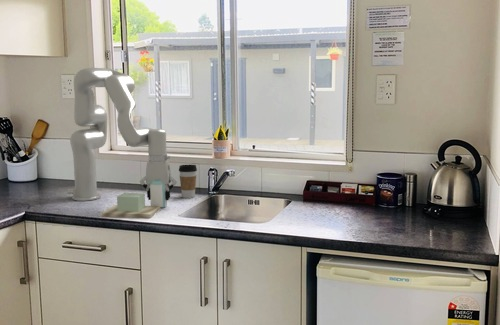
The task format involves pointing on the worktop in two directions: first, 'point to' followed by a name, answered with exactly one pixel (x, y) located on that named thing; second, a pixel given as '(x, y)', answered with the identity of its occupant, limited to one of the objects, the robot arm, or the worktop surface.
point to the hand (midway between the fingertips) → (158, 199)
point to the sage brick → (131, 202)
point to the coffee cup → (188, 180)
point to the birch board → (144, 213)
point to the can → (158, 194)
